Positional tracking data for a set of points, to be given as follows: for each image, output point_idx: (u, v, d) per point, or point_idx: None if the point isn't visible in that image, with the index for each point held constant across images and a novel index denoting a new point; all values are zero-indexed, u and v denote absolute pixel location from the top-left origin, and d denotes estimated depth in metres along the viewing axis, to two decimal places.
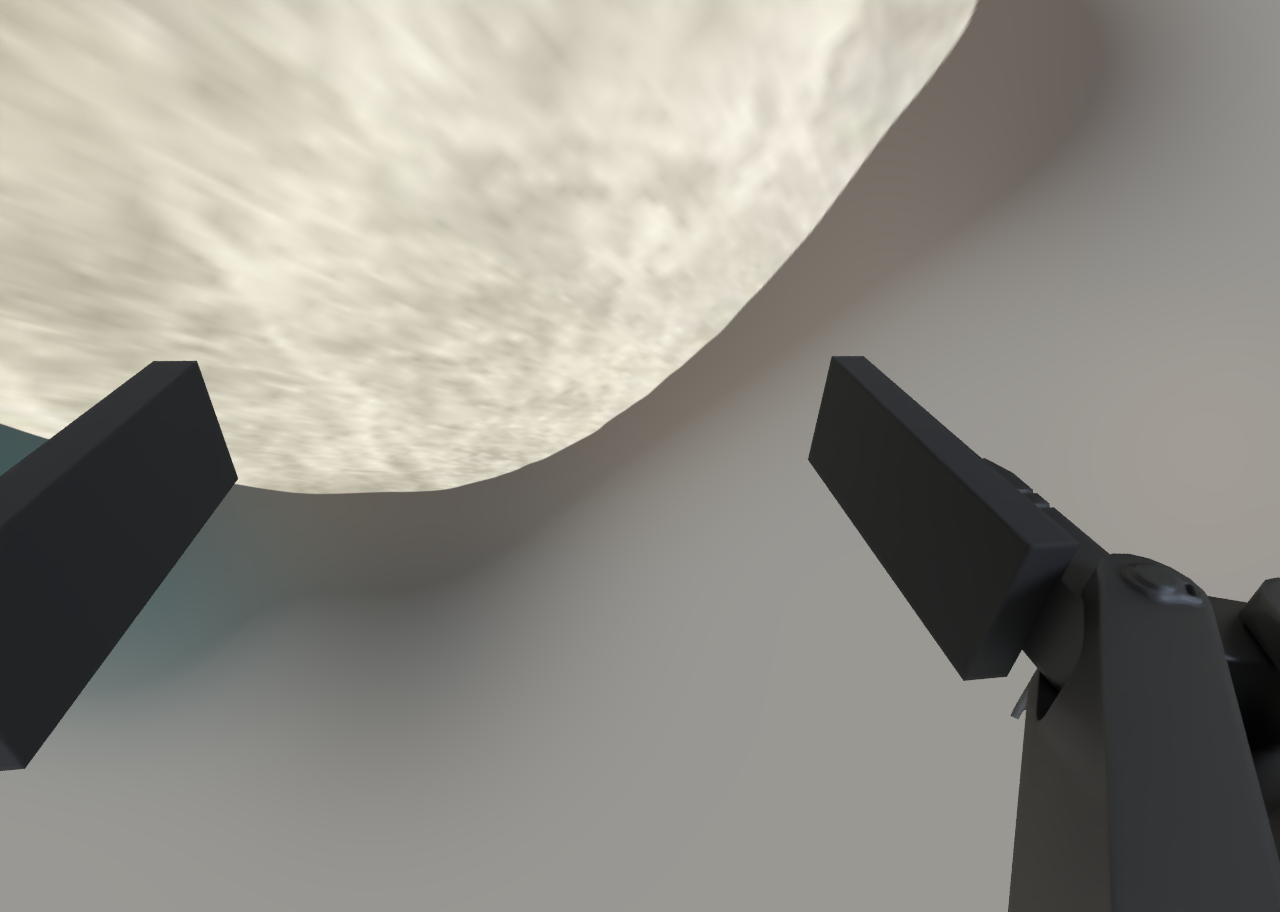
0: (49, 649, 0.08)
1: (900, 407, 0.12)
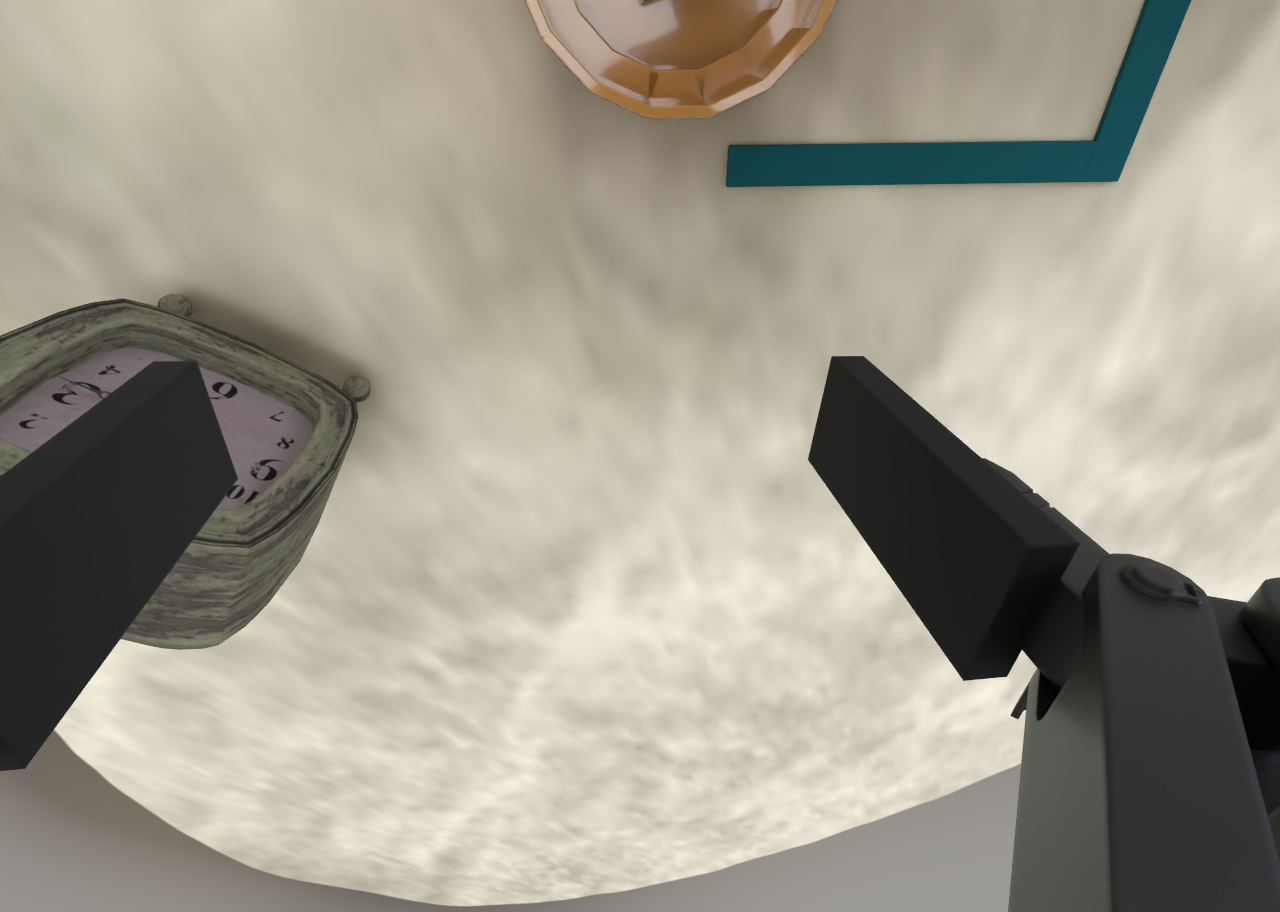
0: (49, 649, 0.08)
1: (900, 407, 0.12)
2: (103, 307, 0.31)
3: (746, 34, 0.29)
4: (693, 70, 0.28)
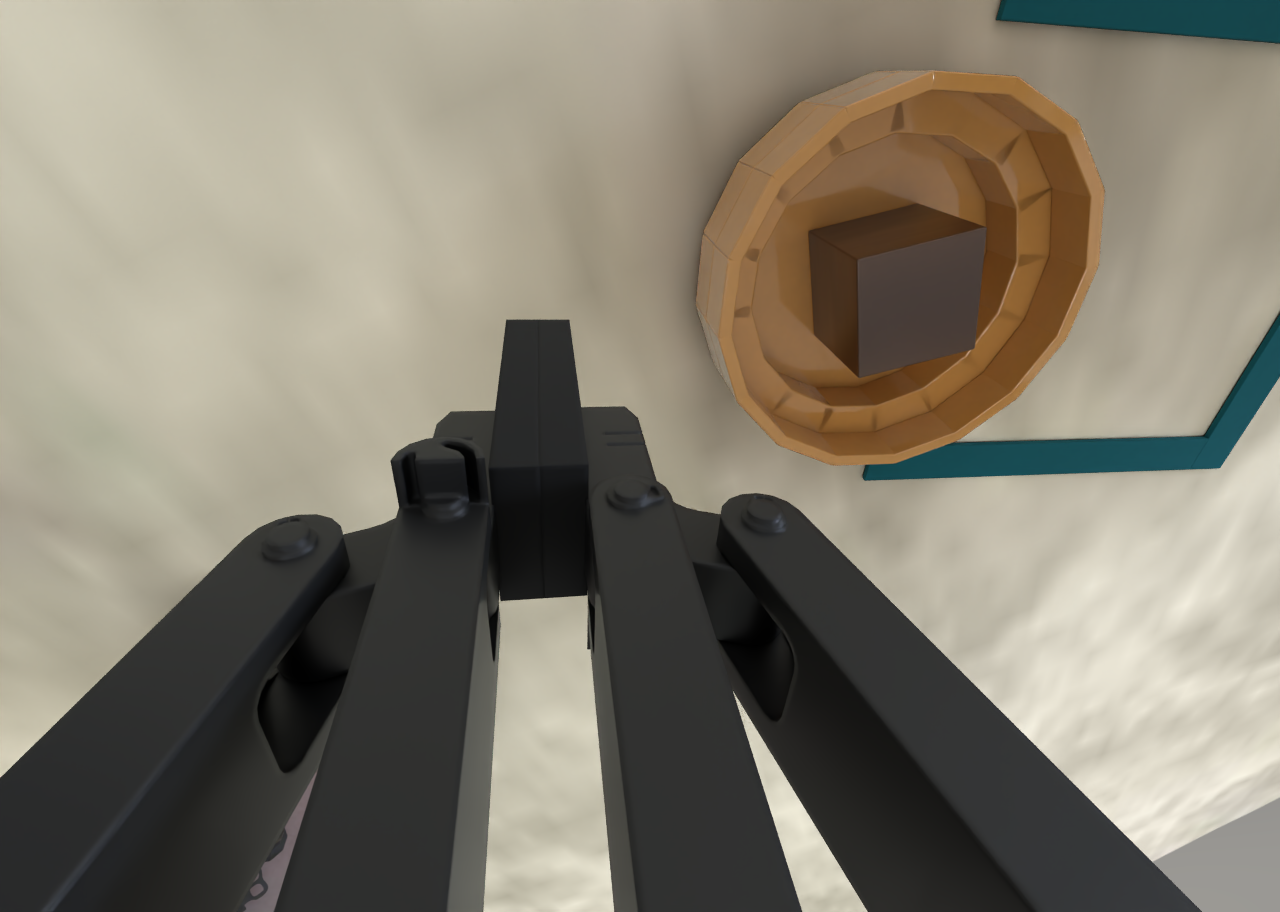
0: None
1: (553, 360, 0.13)
2: None
3: None
4: (870, 406, 0.27)
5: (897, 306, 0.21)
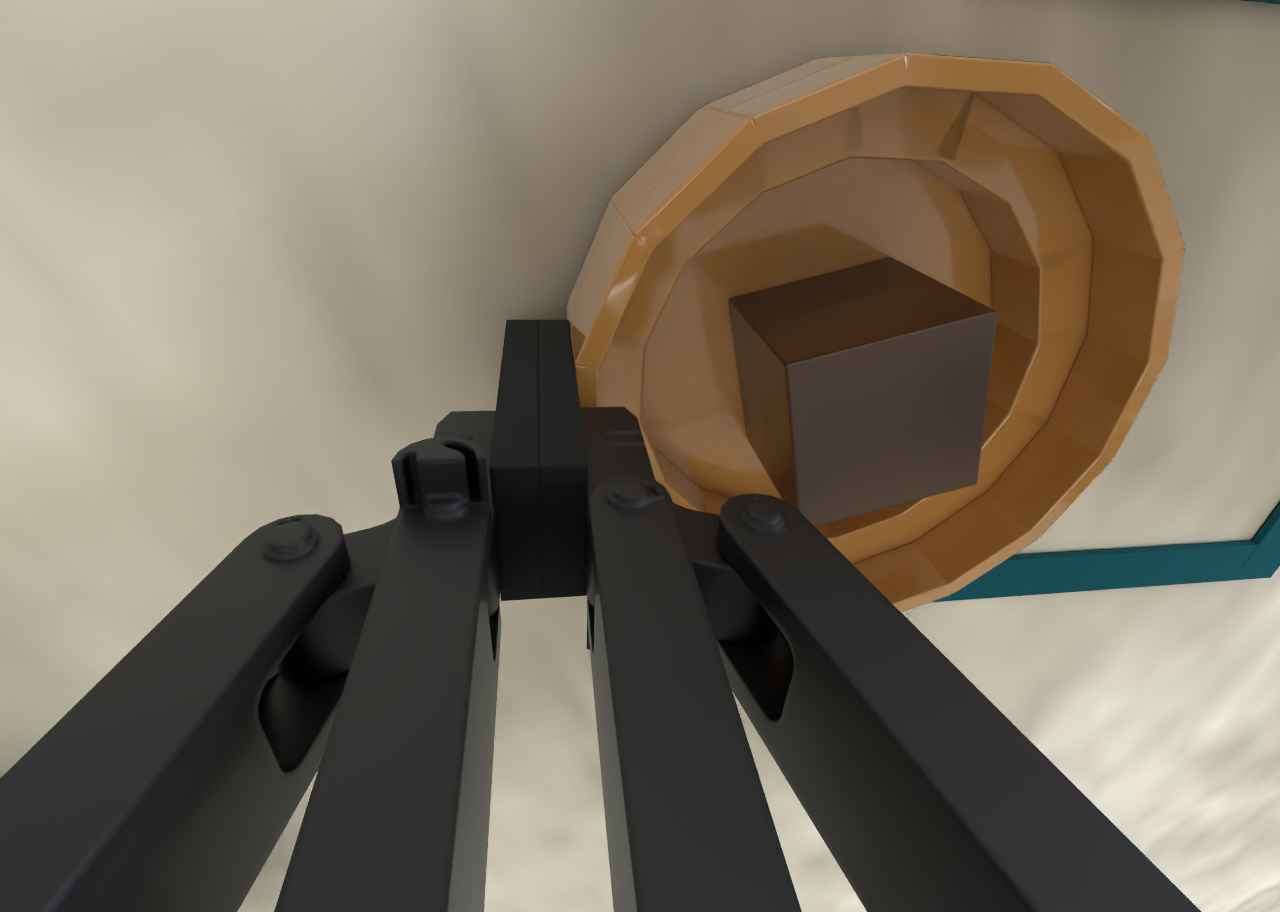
0: None
1: (552, 360, 0.13)
2: None
3: None
4: None
5: (854, 431, 0.14)
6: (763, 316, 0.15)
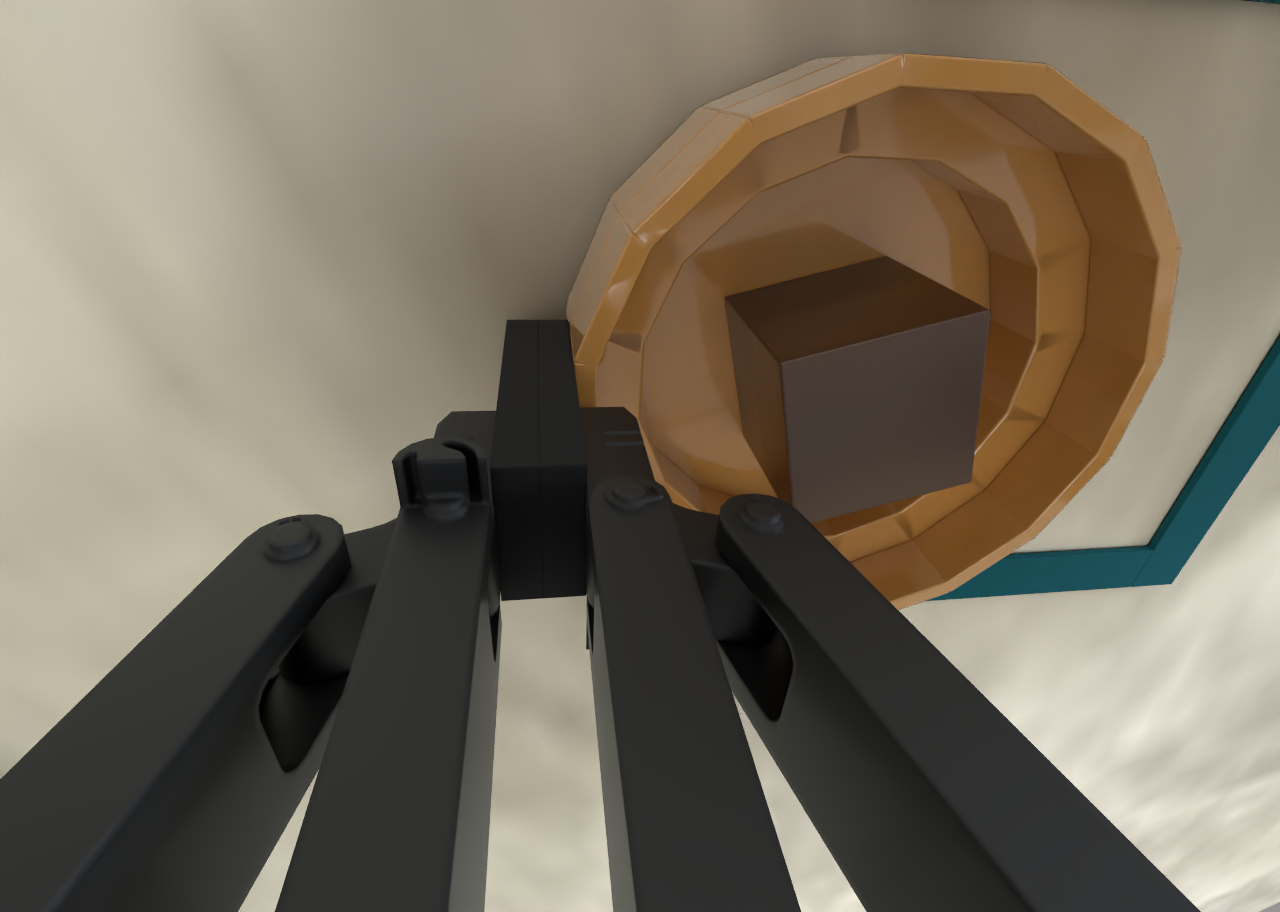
0: None
1: (551, 360, 0.13)
2: None
3: None
4: (825, 537, 0.19)
5: (848, 429, 0.14)
6: (759, 314, 0.15)
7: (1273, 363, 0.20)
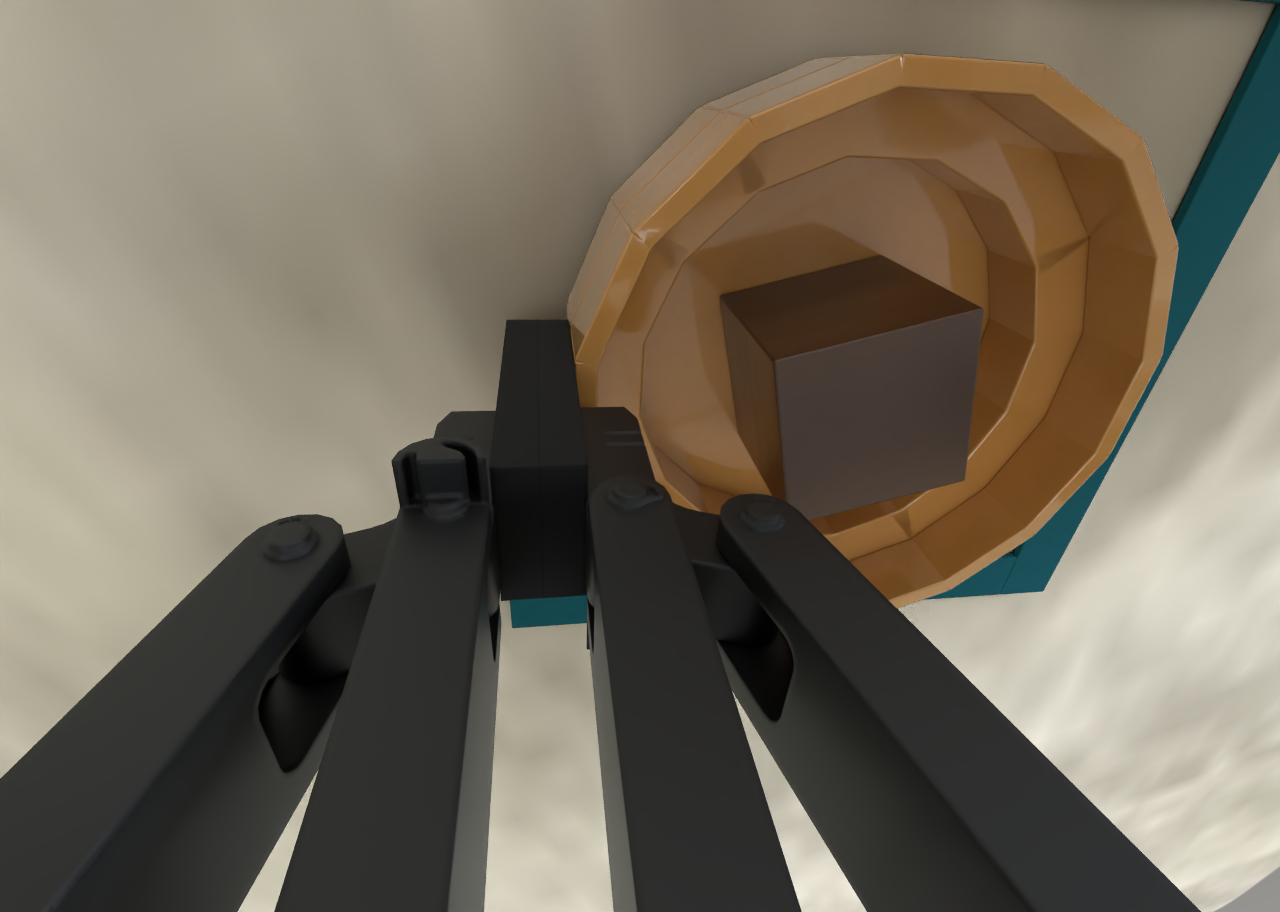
0: None
1: (552, 360, 0.13)
2: None
3: None
4: (825, 536, 0.19)
5: (842, 427, 0.14)
6: (753, 312, 0.15)
7: None
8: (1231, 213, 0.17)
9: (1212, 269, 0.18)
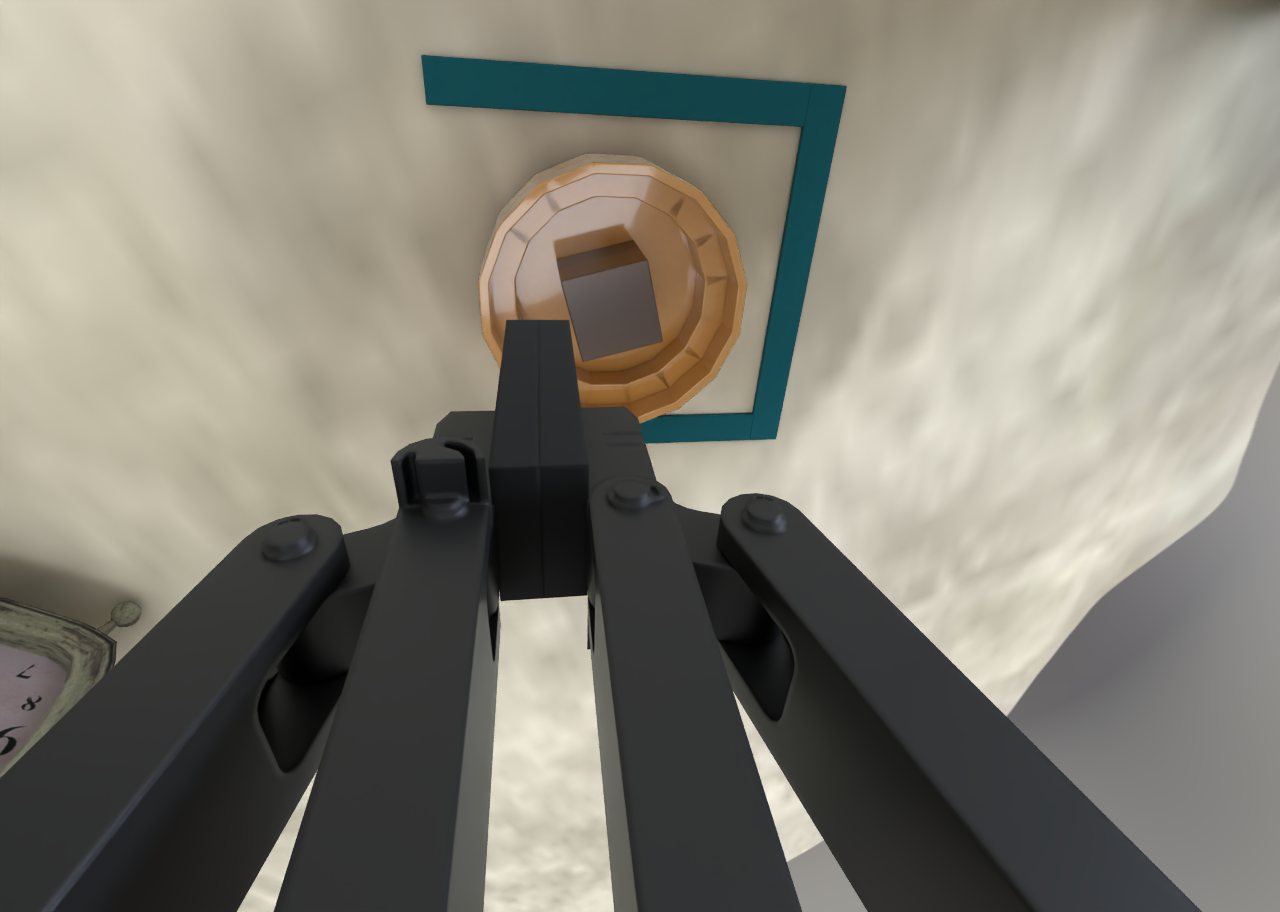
0: None
1: (553, 360, 0.13)
2: None
3: (660, 351, 0.38)
4: (621, 384, 0.37)
5: (597, 312, 0.32)
6: (565, 265, 0.33)
7: (774, 298, 0.38)
8: (811, 220, 0.36)
9: (811, 248, 0.37)
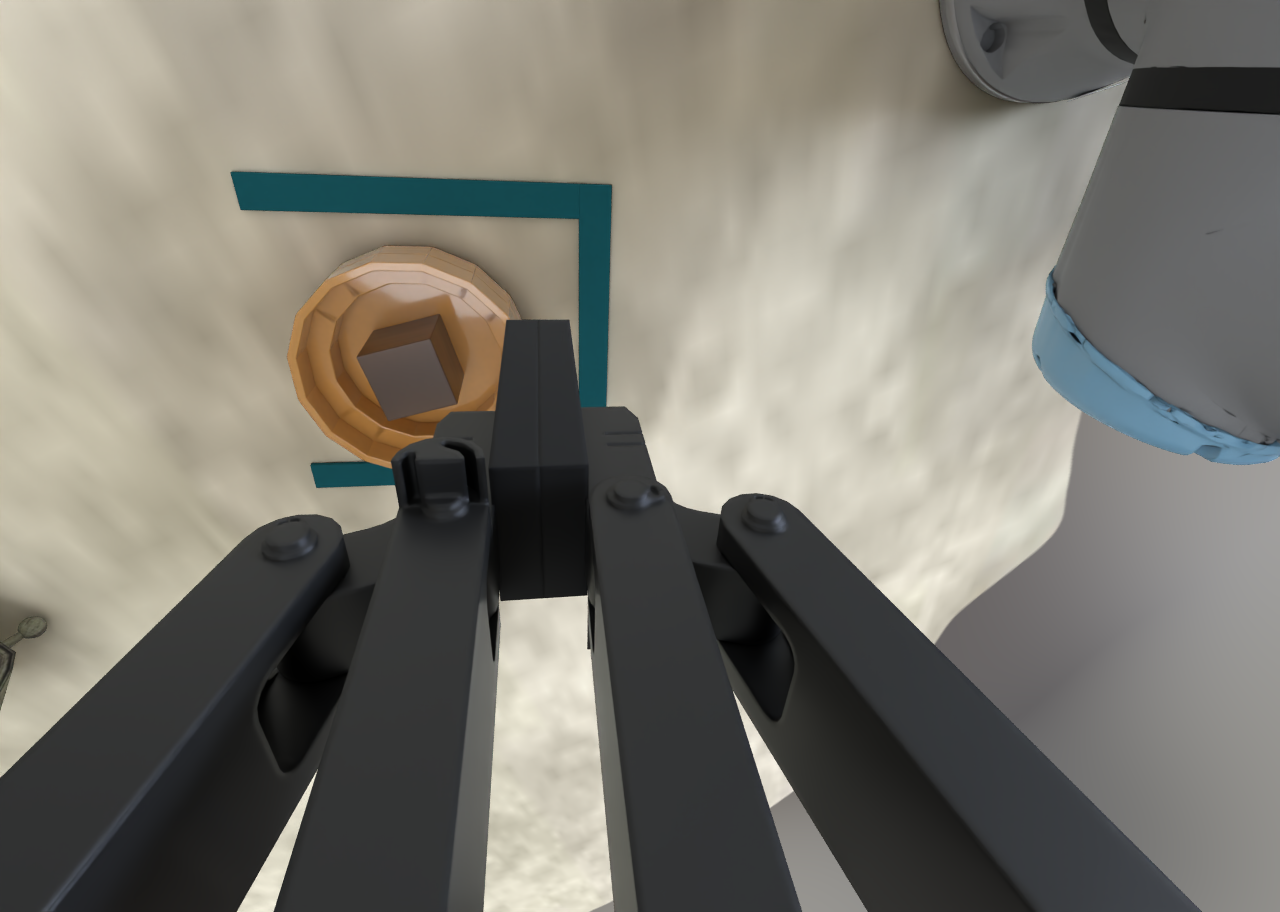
0: None
1: (553, 360, 0.13)
2: None
3: (480, 405, 0.44)
4: None
5: (393, 381, 0.37)
6: (372, 338, 0.38)
7: (579, 359, 0.43)
8: (601, 294, 0.41)
9: (606, 317, 0.42)
